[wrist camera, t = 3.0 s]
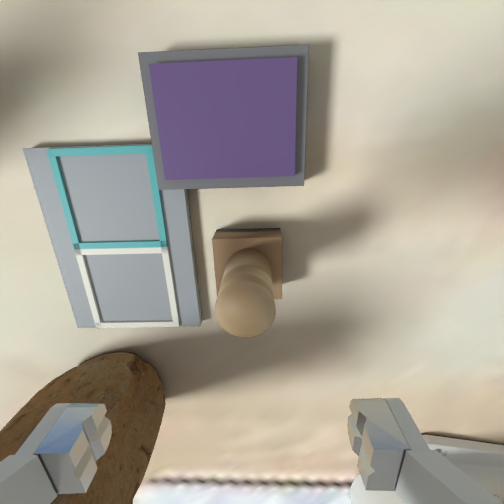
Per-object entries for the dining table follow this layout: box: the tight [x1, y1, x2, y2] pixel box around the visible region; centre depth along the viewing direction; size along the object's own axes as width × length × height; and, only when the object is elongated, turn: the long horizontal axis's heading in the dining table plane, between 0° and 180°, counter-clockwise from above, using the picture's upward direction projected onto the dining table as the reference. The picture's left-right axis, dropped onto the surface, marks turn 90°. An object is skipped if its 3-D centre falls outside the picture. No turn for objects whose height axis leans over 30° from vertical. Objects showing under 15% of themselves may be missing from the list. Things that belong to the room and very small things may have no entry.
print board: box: [23, 144, 202, 328], centre depth 22 cm, size 11×15×1 cm
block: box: [0, 352, 165, 504], centre depth 19 cm, size 11×8×20 cm
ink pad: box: [138, 45, 309, 190], centre depth 18 cm, size 10×8×2 cm
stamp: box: [212, 228, 282, 337], centre depth 19 cm, size 5×5×8 cm
